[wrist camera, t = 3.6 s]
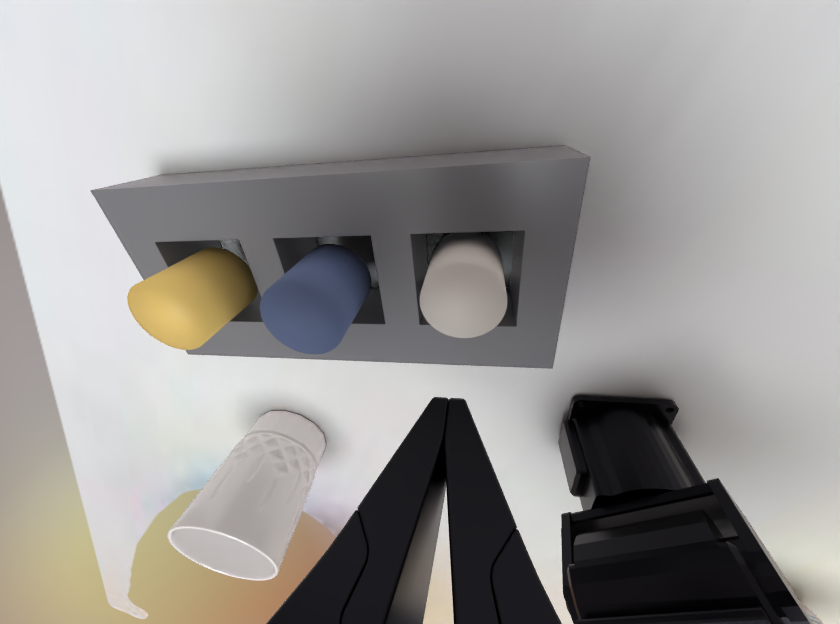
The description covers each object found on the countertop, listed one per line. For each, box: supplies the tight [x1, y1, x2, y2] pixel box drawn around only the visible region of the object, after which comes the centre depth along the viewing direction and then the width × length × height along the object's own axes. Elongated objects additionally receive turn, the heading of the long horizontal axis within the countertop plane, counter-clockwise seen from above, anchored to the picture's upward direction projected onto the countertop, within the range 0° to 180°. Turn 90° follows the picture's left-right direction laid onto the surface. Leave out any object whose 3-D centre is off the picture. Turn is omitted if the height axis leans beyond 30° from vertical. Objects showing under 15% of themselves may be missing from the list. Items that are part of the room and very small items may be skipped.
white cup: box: [168, 411, 326, 580], centre depth 26 cm, size 8×8×10 cm
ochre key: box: [128, 247, 258, 350], centre depth 16 cm, size 4×4×4 cm
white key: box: [420, 232, 507, 338], centre depth 15 cm, size 4×4×4 cm
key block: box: [91, 145, 590, 369], centre depth 18 cm, size 22×10×4 cm, turn 95°
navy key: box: [260, 244, 371, 354], centre depth 15 cm, size 4×4×4 cm
